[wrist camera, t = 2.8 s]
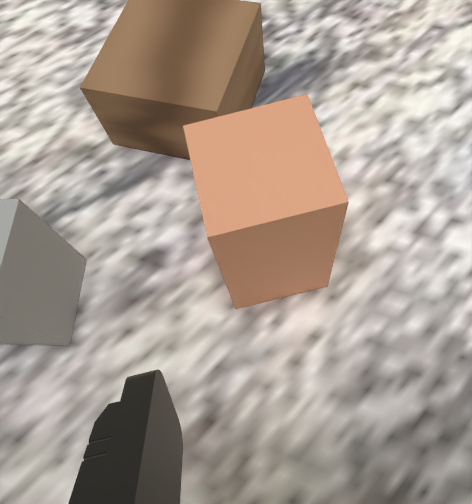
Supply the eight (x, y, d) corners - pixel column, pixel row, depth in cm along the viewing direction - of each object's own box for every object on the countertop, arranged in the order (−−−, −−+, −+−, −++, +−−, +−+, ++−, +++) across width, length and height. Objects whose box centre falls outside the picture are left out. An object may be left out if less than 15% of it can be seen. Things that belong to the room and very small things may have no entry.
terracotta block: (236, 309, 23) (207, 237, 15) (217, 227, 25) (183, 125, 17) (327, 286, 23) (348, 201, 15) (301, 206, 25) (307, 94, 17)
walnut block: (113, 143, 29) (79, 87, 24) (157, 54, 31) (135, -12, 27) (229, 167, 27) (216, 111, 22) (264, 70, 30) (260, 2, 25)
